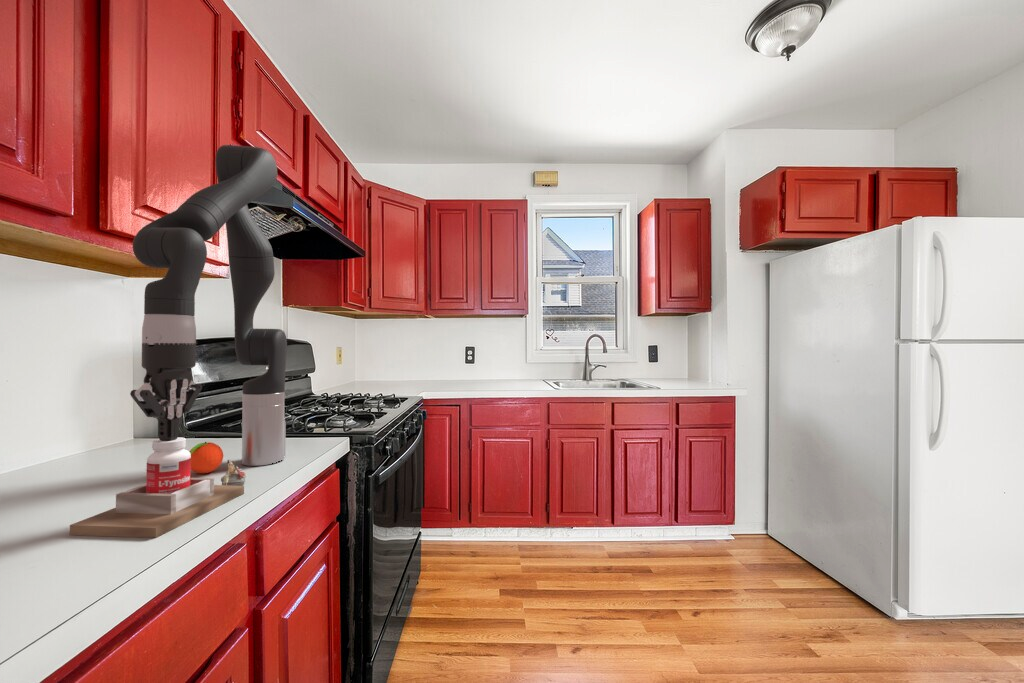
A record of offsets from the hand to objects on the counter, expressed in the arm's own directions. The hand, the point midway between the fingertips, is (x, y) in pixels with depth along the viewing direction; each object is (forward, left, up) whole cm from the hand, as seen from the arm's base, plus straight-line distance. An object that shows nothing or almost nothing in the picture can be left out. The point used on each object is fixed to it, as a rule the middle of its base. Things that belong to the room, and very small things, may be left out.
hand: (168, 439), depth 78 cm
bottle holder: (0, 0, -13) cm, 13 cm away
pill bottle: (0, 0, -11) cm, 11 cm away
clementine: (-22, -11, -13) cm, 28 cm away
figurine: (-14, +2, -13) cm, 19 cm away
